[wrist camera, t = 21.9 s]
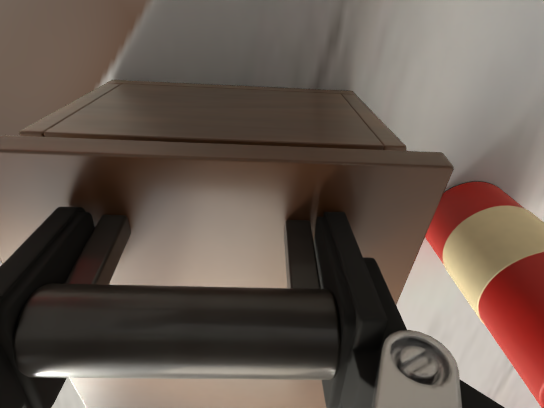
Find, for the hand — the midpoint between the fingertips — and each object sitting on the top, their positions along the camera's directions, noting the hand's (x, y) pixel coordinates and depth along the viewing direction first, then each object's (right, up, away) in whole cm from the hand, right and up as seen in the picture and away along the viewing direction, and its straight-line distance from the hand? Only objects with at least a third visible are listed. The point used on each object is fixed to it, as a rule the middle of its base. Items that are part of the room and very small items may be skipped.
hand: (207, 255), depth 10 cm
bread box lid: (0, -3, +4) cm, 5 cm away
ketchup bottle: (+14, +1, +13) cm, 19 cm away
